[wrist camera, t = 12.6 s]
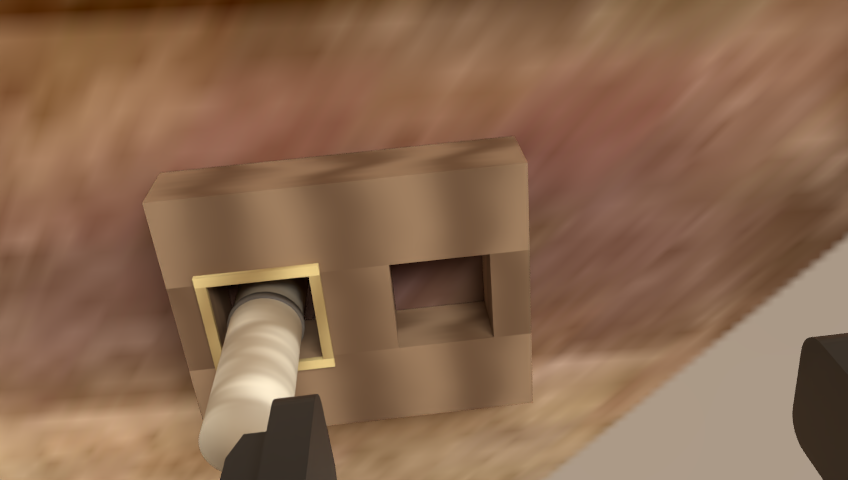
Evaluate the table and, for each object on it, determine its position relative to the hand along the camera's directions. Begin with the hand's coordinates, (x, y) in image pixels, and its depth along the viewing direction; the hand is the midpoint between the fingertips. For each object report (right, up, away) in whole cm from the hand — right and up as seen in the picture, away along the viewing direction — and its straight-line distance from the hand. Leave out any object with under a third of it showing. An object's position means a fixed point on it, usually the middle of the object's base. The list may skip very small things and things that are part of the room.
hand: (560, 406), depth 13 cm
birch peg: (-11, 0, +35) cm, 36 cm away
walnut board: (-6, +1, +35) cm, 35 cm away
